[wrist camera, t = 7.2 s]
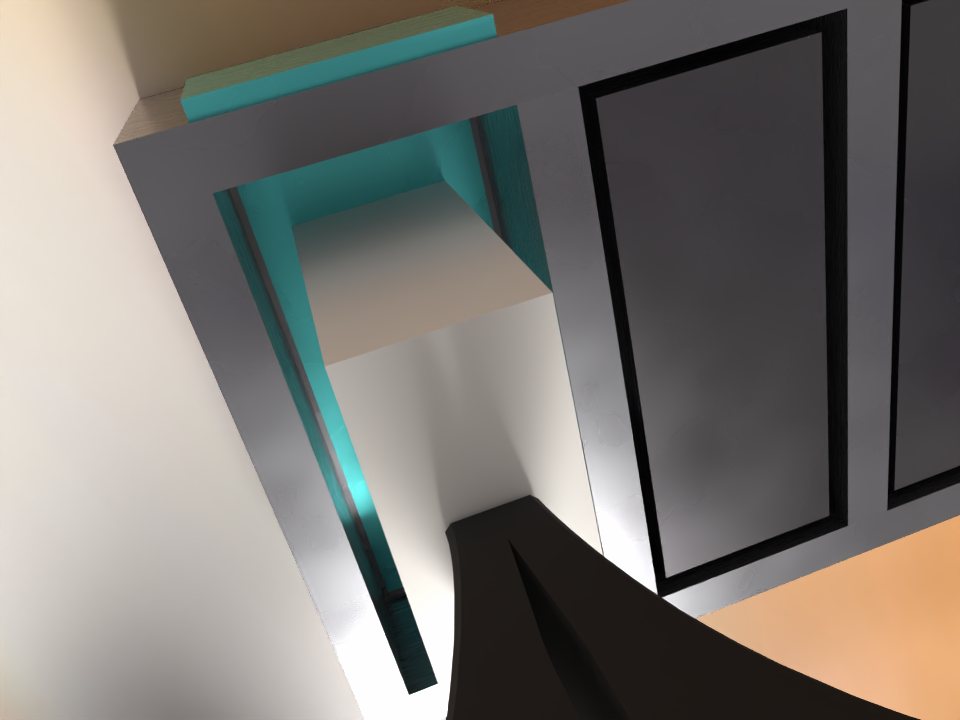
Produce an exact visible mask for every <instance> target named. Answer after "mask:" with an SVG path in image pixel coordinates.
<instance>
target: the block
mask: <svg viewBox="0 0 960 720" xmlns="http://www.w3.org/2000/svg"><path fill="white" fill-rule="evenodd" d="M291 228H292V232H293V236H294V240H295V245H296V249H297V253H298V257H299V261H300V265H301V270H302V274H303V278H304V282H305V286H306V291H307V295H308V299H309V303H310V307H311V311H312V316H313V320H314V324H315V328H316V332H317V337H318V341H319V345H320V349H321V353H322V357H323V362H324V366H325V369H326V372H327V374H328V377H329V380H330V383H331V386H332V388H333V391H334V394H335V397H336V400H337V402H338V405H339V408H340V411H341V413H342V416H343V419H344V422H345V425H346V427H347V430H348V433H349V436H350V439H351V441H352V444H353V447H354V450H355V453H356V455H357V458H358V461H359V464H360V467H361V469H362V472H363V475H364V478H365V481H366V483H367V486H368V489H369V492H370V494H371V497H372V500H373V503H374V506H375V508H376V511H377V514H378V517H379V520H380V522H381V525H382V528H383V531H384V534H385V536H386V539H387V542H388V545H389V548H390V550H391V553H392V556H393V559H394V562H395V564H396V567H397V570H398V573H399V575H400V578H401V581H402V584H403V587H404V589H405V592H406V595H407V598H408V601H409V603H410V606H411V609H412V612H413V615H414V617H415V620H416V623H417V626H418V629H419V631H420V634H421V637H422V640H423V643H424V645H425V648H426V651H427V654H428V656H429V659H430V662H431V665H432V668H433V670H434V673H435V676H436V679H437V682H438V684H439V687H440V690H441V693H442V696H443V698H444V701H445V704H446V707H447V708H448V700H449V692H450V681H451V669H452V657H453V645H454V581H453V567H452V559H451V553H450V548H449V543H448V540H447V537H446V534H445V531H446V530H447V528H448V527H449V525H450V523H453V522H456V521H458V520H461V519H464V518H467V517H469V516H472V515H475V514H478V513H481V512H483V511H486V510H489V509H492V508H494V507H497V506H500V505H503V504H506V503H508V502H511V501H514V500H517V499H520V498H522V497H525V496H528V495H532V496H534V497H536V498H538V499H539V500H540V501H541V502H542V503H543V504H544V505H545V506H546V507H547V508H548V509H549V510H550V511H551V512H552V513H554V514H555V515H556V516H557V517H558V518H559V519H560V520H561V521H562V522H563V523H564V524H566V525H567V526H568V527H569V528H570V529H571V530H572V531H574V532H575V533H576V534H577V535H578V536H580V537H581V538H582V539H583V540H584V541H586V542H587V543H588V544H589V545H590V546H592V547H593V548H594V549H595V550H597V551H598V552H599V553H600V554H602V555H603V553H602V548H601V542H600V537H599V532H598V527H597V522H596V516H595V511H594V506H593V501H592V496H591V490H590V485H589V480H588V475H587V470H586V464H585V459H584V454H583V449H582V444H581V438H580V433H579V428H578V423H577V418H576V412H575V407H574V402H573V397H572V392H571V386H570V381H569V376H568V371H567V366H566V360H565V355H564V350H563V345H562V340H561V334H560V329H559V324H558V319H557V314H556V308H555V303H554V298H553V293H552V292H551V291H550V290H549V288H548V287H547V286H546V285H545V284H544V283H543V282H542V281H541V280H540V279H539V278H538V277H537V276H536V275H535V274H534V273H533V272H532V271H531V270H530V269H529V268H528V267H527V266H526V264H525V263H524V262H523V261H522V260H521V259H520V258H519V257H518V256H517V255H516V254H515V253H514V252H513V251H512V250H511V249H510V248H509V247H508V246H507V245H506V244H505V243H504V242H503V240H502V239H501V238H500V237H499V236H498V235H497V234H496V233H495V232H494V231H493V230H492V229H491V228H490V227H489V226H488V225H487V224H486V223H485V222H484V221H483V220H482V219H481V218H480V216H479V215H478V214H477V213H476V212H475V211H474V210H473V209H472V208H471V207H470V206H469V205H468V204H467V203H466V202H465V201H464V200H463V199H462V198H461V197H460V196H459V195H458V193H457V192H456V191H455V190H454V189H453V188H452V187H451V186H450V185H449V184H448V183H447V182H446V181H445V180H444V181H441V182H437V183H434V184H431V185H427V186H424V187H420V188H417V189H414V190H410V191H407V192H404V193H400V194H397V195H394V196H390V197H387V198H384V199H380V200H377V201H374V202H370V203H367V204H364V205H360V206H357V207H354V208H350V209H347V210H344V211H340V212H337V213H334V214H330V215H327V216H324V217H320V218H317V219H313V220H310V221H307V222H303V223H300V224H297V225H293V226H291Z"/></svg>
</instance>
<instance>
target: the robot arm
mask: <svg viewBox="0 0 960 720" xmlns="http://www.w3.org/2000/svg"><path fill="white" fill-rule="evenodd" d="M445 534H446V537H447V540H448V543H449V548H450V553H451V559H452V567H453V581H454V645H453V657H452V669H451V681H450V692H449V700H448V708H447V716H446V720H920V719H917V718H914V717H910V716H907V715H904V714H901V713H899V712H896V711H893V710H890V709H888V708H885V707H882V706H879V705H877V704H874V703H871V702H869V701H866V700H863V699H861V698H858V697H855V696H853V695H850V694H848V693H846V692H843V691H841V690H839V689H837V688H834V687H832V686H830V685H827V684H825V683H823V682H820V681H818V680H816V679H813V678H811V677H809V676H807V675H804V674H802V673H800V672H797V671H795V670H793V669H790V668H788V667H786V666H783V665H781V664H779V663H777V662H775V661H773V660H771V659H769V658H767V657H765V656H763V655H761V654H759V653H757V652H755V651H753V650H751V649H749V648H747V647H745V646H743V645H741V644H739V643H737V642H736V641H734V640H732V639H730V638H728V637H726V636H725V635H723V634H721V633H719V632H717V631H716V630H714V629H712V628H710V627H708V626H707V625H705V624H703V623H702V622H700V621H698V620H697V619H695V618H693V617H692V616H690V615H688V614H687V613H685V612H683V611H682V610H680V609H679V608H677V607H675V606H674V605H672V604H671V603H669V602H668V601H666V600H665V599H663V598H662V597H660V596H659V595H657V594H656V593H654V592H653V591H651V590H650V589H648V588H647V587H645V586H644V585H642V584H641V583H640V582H638V581H637V580H635V579H634V578H632V577H631V576H630V575H628V574H627V573H626V572H624V571H623V570H622V569H620V568H619V567H618V566H616V565H615V564H614V563H612V562H611V561H610V560H608V559H607V558H606V557H604V556H603V555H602V554H600V553H599V552H598V551H597V550H595V549H594V548H593V547H592V546H590V545H589V544H588V543H587V542H586V541H584V540H583V539H582V538H581V537H580V536H578V535H577V534H576V533H575V532H574V531H572V530H571V529H570V528H569V527H568V526H567V525H566V524H564V523H563V522H562V521H561V520H560V519H559V518H558V517H557V516H556V515H555V514H554V513H552V512H551V511H550V510H549V509H548V508H547V507H546V506H545V505H544V504H543V503H542V502H541V501H540V500H539V499H538V498H536V497H534V496H532V495H528V496H525V497H522V498H520V499H517V500H514V501H511V502H508V503H506V504H503V505H500V506H497V507H494V508H492V509H489V510H486V511H483V512H481V513H478V514H475V515H472V516H469V517H467V518H464V519H461V520H458V521H456V522H453V523H450V525H449V527H448V528H447V530H446V531H445Z"/></svg>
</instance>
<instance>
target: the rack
mask: <svg viewBox="0 0 960 720" xmlns="http://www.w3.org/2000/svg"><path fill="white" fill-rule="evenodd" d="M113 146H114V148H115V150H116V153H117V155H118V157H119V159H120V162H121V164H122V166H123V169H124V171H125V173H126V175H127V178H128V180H129V182H130V184H131V187H132V189H133V191H134V194H135V196H136V198H137V200H138V203H139V205H140V207H141V210H142V212H143V214H144V216H145V219H146V221H147V223H148V226H149V228H150V230H151V232H152V235H153V237H154V239H155V241H156V244H157V246H158V248H159V251H160V253H161V255H162V257H163V260H164V262H165V264H166V267H167V269H168V271H169V273H170V276H171V278H172V280H173V283H174V285H175V287H176V289H177V292H178V294H179V296H180V298H181V301H182V303H183V305H184V308H185V310H186V312H187V314H188V317H189V319H190V321H191V324H192V326H193V328H194V330H195V333H196V335H197V337H198V340H199V342H200V344H201V346H202V349H203V351H204V353H205V355H206V358H207V360H208V362H209V365H210V367H211V369H212V371H213V374H214V376H215V378H216V381H217V383H218V385H219V387H220V390H221V392H222V394H223V397H224V399H225V401H226V403H227V406H228V408H229V410H230V412H231V415H232V417H233V419H234V422H235V424H236V426H237V428H238V431H239V433H240V435H241V438H242V440H243V442H244V444H245V447H246V449H247V451H248V454H249V456H250V458H251V460H252V463H253V465H254V467H255V469H256V472H257V474H258V476H259V479H260V481H261V483H262V485H263V488H264V490H265V492H266V495H267V497H268V499H269V501H270V504H271V506H272V508H273V511H274V513H275V515H276V517H277V520H278V522H279V524H280V526H281V529H282V531H283V533H284V536H285V538H286V540H287V542H288V545H289V547H290V549H291V552H292V554H293V556H294V558H295V561H296V563H297V565H298V568H299V570H300V572H301V574H302V577H303V579H304V581H305V583H306V586H307V588H308V590H309V593H310V595H311V597H312V599H313V602H314V604H315V606H316V609H317V611H318V613H319V615H320V618H321V620H322V622H323V625H324V627H325V629H326V631H327V634H328V636H329V638H330V640H331V643H332V645H333V647H334V650H335V652H336V654H337V656H338V659H339V661H340V663H341V666H342V668H343V670H344V672H345V675H346V677H347V679H348V682H349V684H350V686H351V688H352V691H353V693H354V695H355V698H356V700H357V702H358V704H359V707H360V709H361V711H362V713H363V716H364V718H365V720H438V719H441V718H443V717H446V716H447V707H446V704H445V701H444V698H443V696H442V693H441V690H440V687H439V684H438V682H437V679H436V676H435V673H434V670H433V668H432V665H431V662H430V659H429V656H428V654H427V651H426V648H425V645H424V643H423V640H422V637H421V634H420V631H419V629H418V626H417V623H416V620H415V617H414V615H413V612H412V609H411V606H410V603H409V601H408V598H407V595H406V592H405V589H404V587H403V584H402V581H401V578H400V575H399V573H398V570H397V567H396V564H395V562H394V559H393V556H392V553H391V550H390V548H389V545H388V542H387V539H386V536H385V534H384V531H383V528H382V525H381V522H380V520H379V517H378V514H377V511H376V508H375V506H374V503H373V500H372V497H371V494H370V492H369V489H368V486H367V483H366V481H365V478H364V475H363V472H362V469H361V467H360V464H359V461H358V458H357V455H356V453H355V450H354V447H353V444H352V441H351V439H350V436H349V433H348V430H347V427H346V425H345V422H344V419H343V416H342V413H341V411H340V408H339V405H338V402H337V400H336V397H335V394H334V391H333V388H332V386H331V383H330V380H329V377H328V374H327V372H326V369H325V366H324V362H323V357H322V353H321V349H320V345H319V341H318V337H317V332H316V328H315V324H314V320H313V316H312V311H311V307H310V303H309V299H308V295H307V291H306V286H305V282H304V278H303V274H302V270H301V265H300V261H299V257H298V253H297V249H296V245H295V240H294V236H293V232H292V228H291V226H293V225H297V224H300V223H303V222H307V221H310V220H313V219H317V218H320V217H324V216H327V215H330V214H334V213H337V212H340V211H344V210H347V209H350V208H354V207H357V206H360V205H364V204H367V203H370V202H374V201H377V200H380V199H384V198H387V197H390V196H394V195H397V194H400V193H404V192H407V191H410V190H414V189H417V188H420V187H424V186H427V185H431V184H434V183H437V182H441V181H444V180H445V181H446V182H447V183H448V184H449V185H450V186H451V187H452V188H453V189H454V190H455V191H456V192H457V193H458V195H459V196H460V197H461V198H462V199H463V200H464V201H465V202H466V203H467V204H468V205H469V206H470V207H471V208H472V209H473V210H474V211H475V212H476V213H477V214H478V215H479V216H480V218H481V219H482V220H483V221H484V222H485V223H486V224H487V225H488V226H489V227H490V228H491V229H492V230H493V231H494V232H495V233H496V234H497V235H498V236H499V237H500V238H501V239H502V240H503V242H504V243H505V244H506V245H507V246H508V247H509V248H510V249H511V250H512V251H513V252H514V253H515V254H516V255H517V256H518V257H519V258H520V259H521V260H522V261H523V262H524V263H525V264H526V266H527V267H528V268H529V269H530V270H531V271H532V272H533V273H534V274H535V275H536V276H537V277H538V278H539V279H540V280H541V281H542V282H543V283H544V284H545V285H546V286H547V287H548V288H549V290H550V291H551V292H552V293H553V298H554V303H555V308H556V314H557V319H558V324H559V329H560V334H561V340H562V345H563V350H564V355H565V360H566V366H567V371H568V376H569V381H570V386H571V392H572V397H573V402H574V407H575V412H576V418H577V423H578V428H579V433H580V438H581V444H582V449H583V454H584V459H585V464H586V470H587V475H588V480H589V485H590V490H591V496H592V501H593V506H594V511H595V516H596V522H597V527H598V532H599V537H600V542H601V548H602V553H603V556H604V557H606V558H607V559H608V560H610V561H611V562H612V563H614V564H615V565H616V566H618V567H619V568H620V569H622V570H623V571H624V572H626V573H627V574H628V575H630V576H631V577H632V578H634V579H635V580H637V581H638V582H640V583H641V584H642V585H644V586H645V587H647V588H648V589H650V590H651V591H653V592H654V593H656V594H657V595H659V596H660V597H662V598H663V599H665V600H666V601H668V602H669V603H671V604H672V605H674V606H675V607H677V608H679V609H680V610H682V611H683V612H685V613H687V614H688V615H690V616H692V617H693V618H695V619H696V618H698V617H701V616H703V615H706V614H708V613H711V612H714V611H716V610H719V609H721V608H724V607H726V606H729V605H731V604H734V603H737V602H739V601H742V600H744V599H747V598H749V597H752V596H754V595H757V594H759V593H762V592H765V591H767V590H770V589H772V588H775V587H777V586H780V585H782V584H785V583H788V582H790V581H793V580H795V579H798V578H800V577H803V576H805V575H808V574H811V573H813V572H816V571H818V570H821V569H823V568H826V567H828V566H831V565H833V564H836V563H839V562H841V561H844V560H846V559H849V558H851V557H854V556H856V555H859V554H862V553H864V552H867V551H869V550H872V549H874V548H877V547H879V546H882V545H884V544H887V543H890V542H892V541H895V540H897V539H900V538H902V537H905V536H907V535H910V534H913V533H915V532H918V531H920V530H923V529H925V528H928V527H930V526H933V525H936V524H938V523H941V522H943V521H946V520H948V519H951V518H953V517H956V516H958V515H960V0H502V1H498V2H495V3H491V4H487V5H484V6H480V7H476V8H473V9H469V8H465V7H461V6H457V5H456V6H453V7H449V8H445V9H442V10H438V11H434V12H431V13H427V14H423V15H420V16H416V17H412V18H409V19H405V20H401V21H397V22H394V23H390V24H386V25H383V26H379V27H375V28H372V29H368V30H364V31H361V32H357V33H353V34H350V35H346V36H342V37H339V38H335V39H331V40H328V41H324V42H320V43H316V44H313V45H309V46H305V47H302V48H298V49H294V50H291V51H287V52H283V53H280V54H276V55H272V56H269V57H265V58H261V59H258V60H254V61H250V62H247V63H243V64H239V65H236V66H232V67H228V68H224V69H221V70H217V71H213V72H210V73H206V74H202V75H199V76H195V77H191V78H188V79H186V82H185V86H184V87H183V88H180V89H176V90H172V91H169V92H165V93H161V94H158V95H154V96H150V97H147V98H143V99H139V101H138V103H137V105H136V106H135V108H134V110H133V111H132V113H131V115H130V117H129V118H128V120H127V122H126V124H125V125H124V127H123V129H122V130H121V132H120V134H119V136H118V137H117V139H116V141H115V143H114V144H113Z"/></svg>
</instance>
